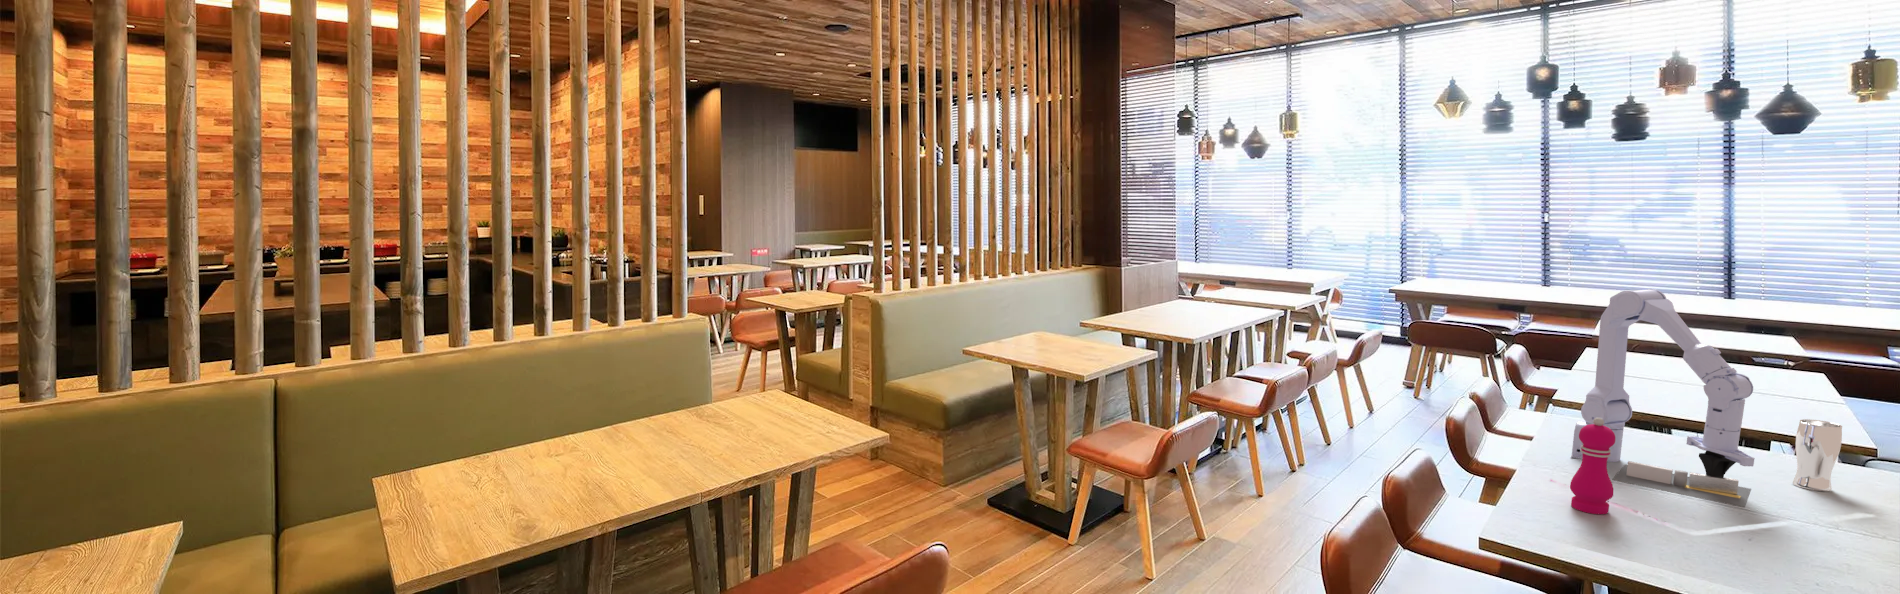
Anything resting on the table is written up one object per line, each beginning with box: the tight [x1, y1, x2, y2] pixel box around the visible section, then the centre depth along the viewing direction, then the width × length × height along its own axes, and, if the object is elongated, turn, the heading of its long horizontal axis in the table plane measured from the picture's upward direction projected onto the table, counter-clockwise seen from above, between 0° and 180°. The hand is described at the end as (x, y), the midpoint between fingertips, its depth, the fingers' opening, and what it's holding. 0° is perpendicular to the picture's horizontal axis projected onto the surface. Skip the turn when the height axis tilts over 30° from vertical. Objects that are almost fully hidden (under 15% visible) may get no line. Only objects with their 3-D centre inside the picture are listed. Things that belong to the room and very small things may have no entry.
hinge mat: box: [1611, 460, 1752, 508], centre depth 182 cm, size 22×16×4 cm
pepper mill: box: [1569, 418, 1615, 515], centre depth 169 cm, size 7×7×20 cm
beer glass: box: [1792, 418, 1843, 492], centre depth 182 cm, size 7×7×15 cm
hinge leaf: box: [1688, 471, 1739, 494], centre depth 179 cm, size 8×1×3 cm, turn 53°
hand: (1713, 485), depth 180 cm, fingers closed, pressing on hinge leaf
